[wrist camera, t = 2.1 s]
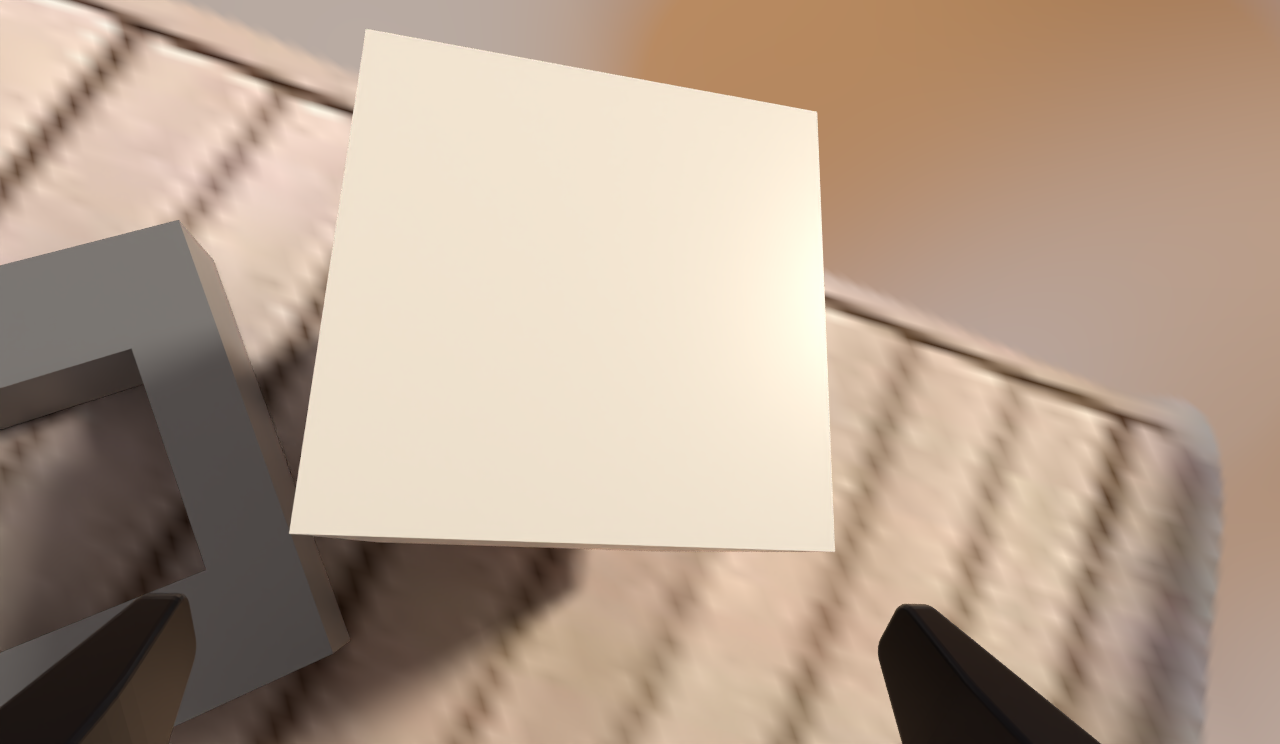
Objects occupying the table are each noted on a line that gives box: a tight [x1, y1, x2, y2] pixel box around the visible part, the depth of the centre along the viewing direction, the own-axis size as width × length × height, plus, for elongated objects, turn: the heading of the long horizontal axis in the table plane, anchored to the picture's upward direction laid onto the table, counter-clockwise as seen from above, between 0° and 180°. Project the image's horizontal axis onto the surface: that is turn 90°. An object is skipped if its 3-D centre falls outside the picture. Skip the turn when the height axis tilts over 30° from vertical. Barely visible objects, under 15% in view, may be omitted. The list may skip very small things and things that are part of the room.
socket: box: [0, 220, 350, 727], centre depth 16 cm, size 11×9×2 cm
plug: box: [289, 29, 835, 552], centre depth 15 cm, size 7×7×11 cm
